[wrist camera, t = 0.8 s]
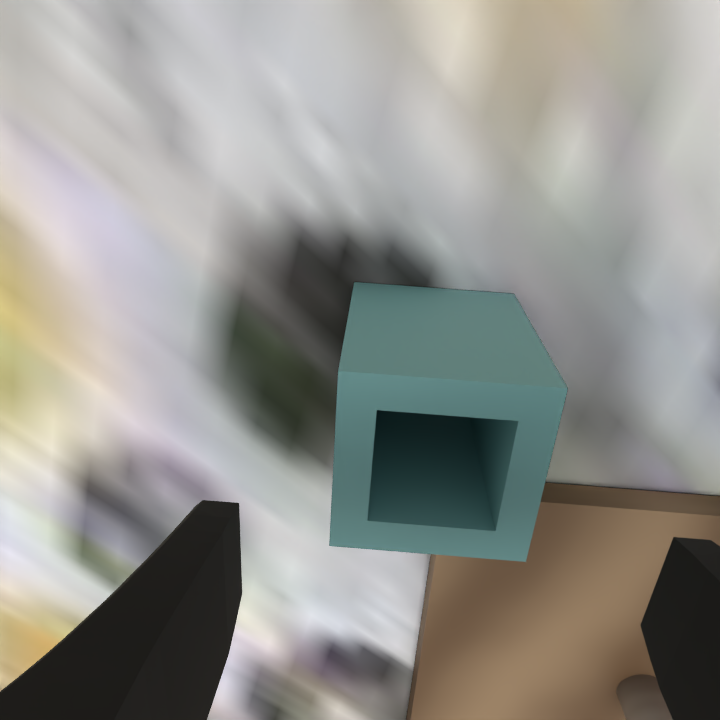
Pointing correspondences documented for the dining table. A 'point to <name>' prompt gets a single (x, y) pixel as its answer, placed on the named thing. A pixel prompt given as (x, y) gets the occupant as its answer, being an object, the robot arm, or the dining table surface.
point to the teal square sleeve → (441, 423)
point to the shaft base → (555, 613)
